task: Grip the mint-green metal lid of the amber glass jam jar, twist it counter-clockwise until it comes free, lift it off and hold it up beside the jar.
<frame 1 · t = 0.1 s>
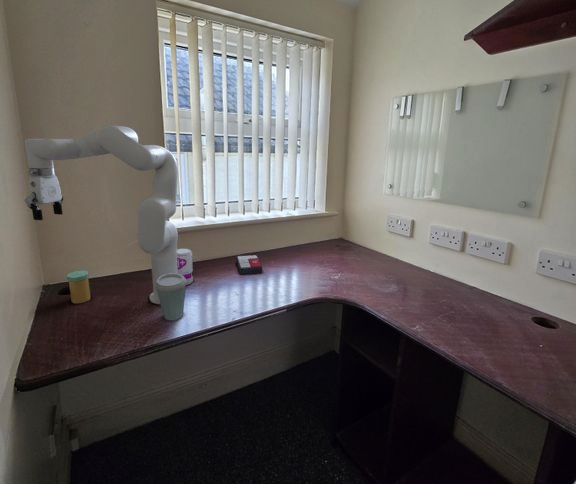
hand: (48, 216, 123), 31 cm above the table, tool pointing down, fingers open, 9 cm apart
supplement can: (183, 282, 143), on the table
jam jar: (81, 299, 124), on the table
disposable coffee cup: (172, 316, 115), on the table
black product box: (248, 268, 162), on the table
lid: (77, 274, 122), point 10 cm above the table, screwed on, not yet turned
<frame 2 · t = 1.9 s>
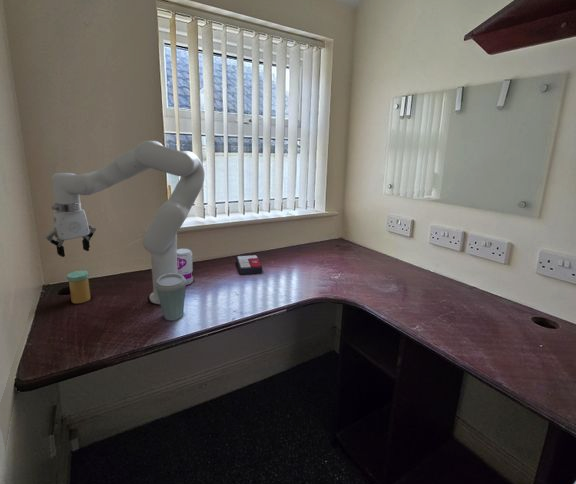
hand: (74, 252, 119), 19 cm above the table, tool pointing down, fingers open, 7 cm apart
nothing on the table moved.
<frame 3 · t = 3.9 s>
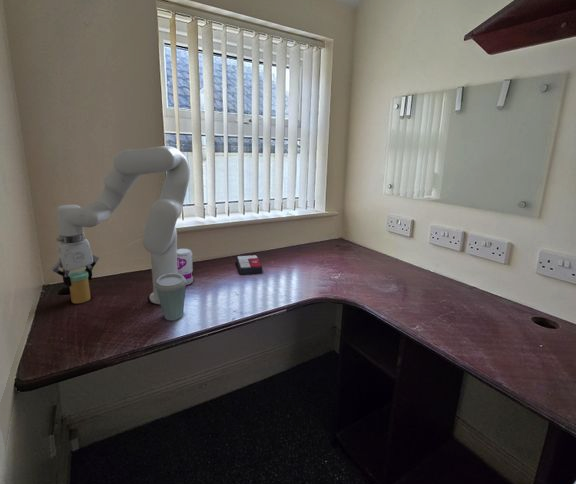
hand: (78, 281, 122), 7 cm above the table, tool pointing down, fingers closed on lid, 6 cm apart
lid: (77, 274, 122), point 10 cm above the table, screwed on, not yet turned, touching gripper
everything else where it was.
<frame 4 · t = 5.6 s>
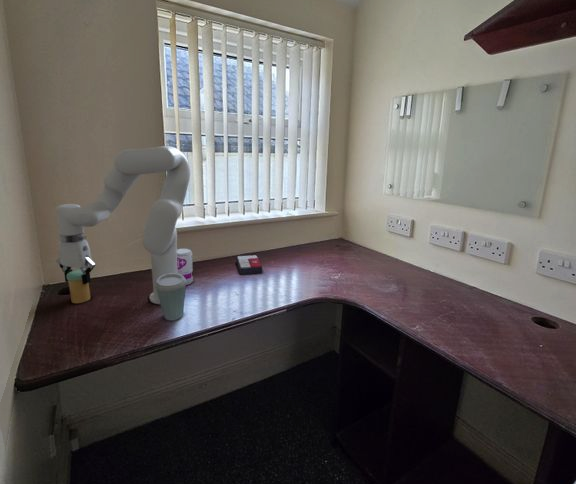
hand: (78, 281, 122), 8 cm above the table, tool pointing down, fingers closed on lid, 6 cm apart
lid: (77, 273, 121), point 11 cm above the table, turned 114° so far, risen 0.3 cm, still on its thread, touching gripper
everything else where it was.
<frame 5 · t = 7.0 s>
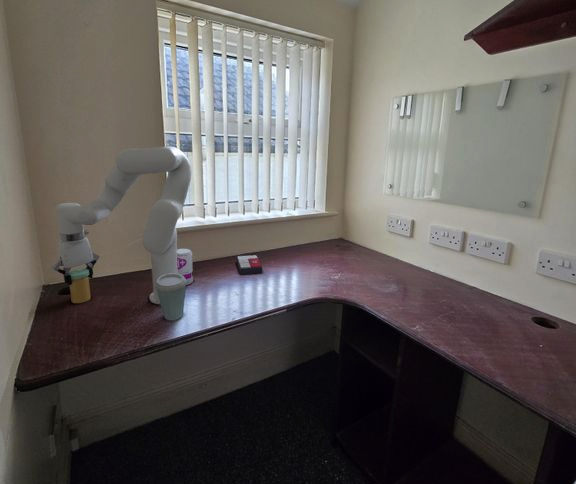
hand: (79, 280, 122), 8 cm above the table, tool pointing down, fingers closed on lid, 6 cm apart
jam jar: (81, 299, 124), on the table, touching gripper
lid: (78, 272, 121), point 11 cm above the table, off its thread, touching gripper
everything else where it was.
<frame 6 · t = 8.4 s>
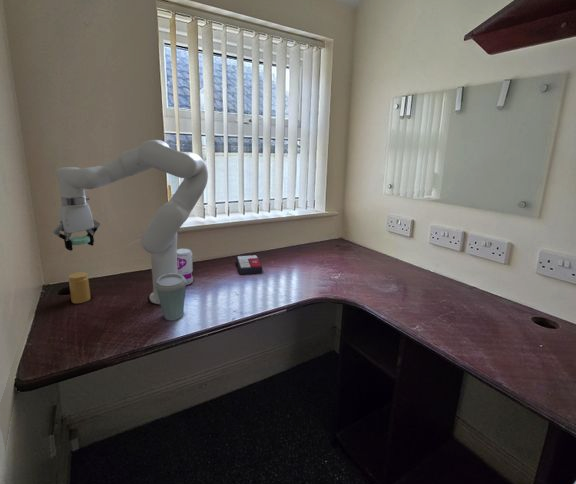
hand: (80, 246, 121), 21 cm above the table, tool pointing down, fingers closed on lid, 6 cm apart
jam jar: (81, 299, 124), on the table
lid: (79, 239, 120), point 24 cm above the table, off its thread, touching gripper
everything else where it was.
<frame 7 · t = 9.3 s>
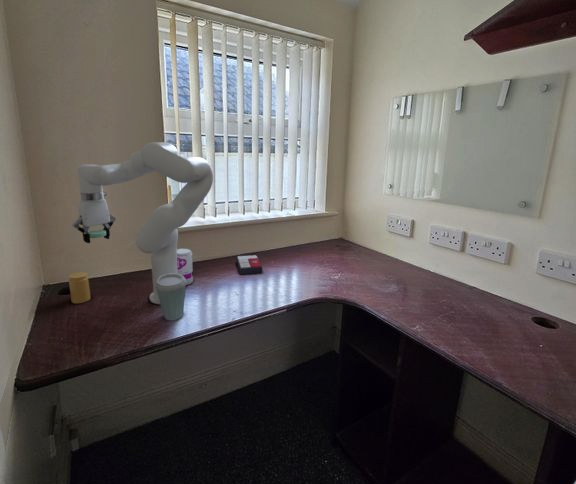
hand: (97, 240, 128), 22 cm above the table, tool pointing down, fingers closed on lid, 6 cm apart
lid: (96, 232, 127), point 25 cm above the table, off its thread, touching gripper
everything else where it was.
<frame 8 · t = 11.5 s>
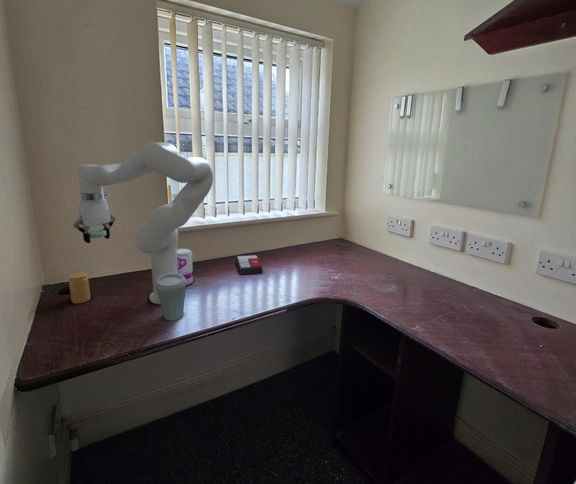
hand: (97, 239, 128), 22 cm above the table, tool pointing down, fingers closed on lid, 6 cm apart
lid: (96, 232, 127), point 25 cm above the table, off its thread, touching gripper
everything else where it was.
at the end: lid came off its thread; the gripper is holding lid; lid point 24.8 cm above the table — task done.
